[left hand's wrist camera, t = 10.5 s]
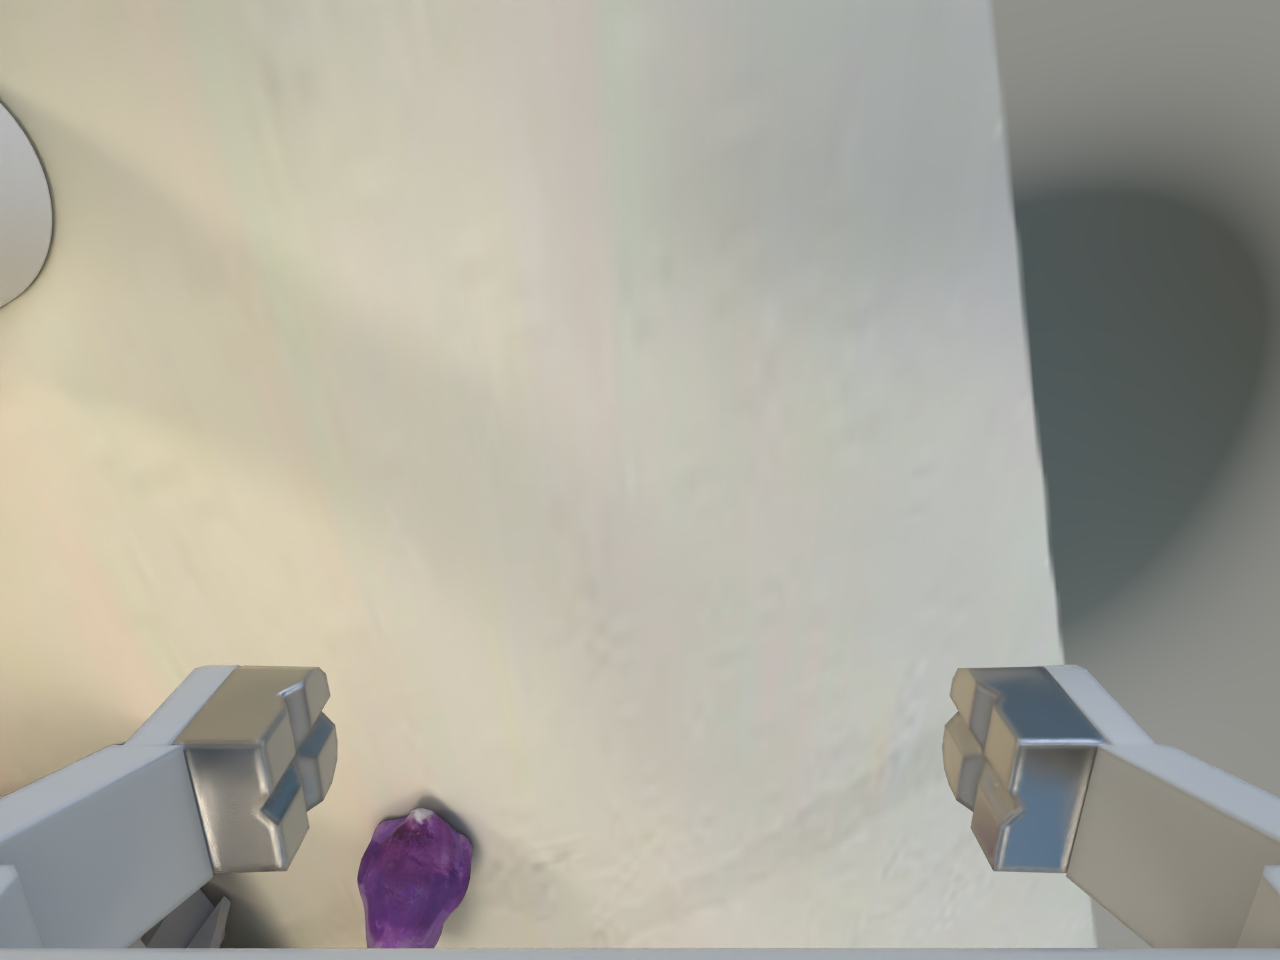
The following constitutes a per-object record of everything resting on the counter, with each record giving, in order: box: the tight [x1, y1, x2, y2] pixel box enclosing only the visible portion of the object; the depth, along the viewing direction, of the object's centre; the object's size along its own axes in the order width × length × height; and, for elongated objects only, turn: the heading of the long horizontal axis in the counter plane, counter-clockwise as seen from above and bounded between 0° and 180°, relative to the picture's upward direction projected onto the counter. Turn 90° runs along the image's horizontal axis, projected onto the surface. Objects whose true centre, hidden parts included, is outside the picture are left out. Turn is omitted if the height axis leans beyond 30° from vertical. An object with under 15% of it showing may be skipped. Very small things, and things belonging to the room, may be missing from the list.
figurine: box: [358, 808, 473, 948], centre depth 57 cm, size 9×10×15 cm
